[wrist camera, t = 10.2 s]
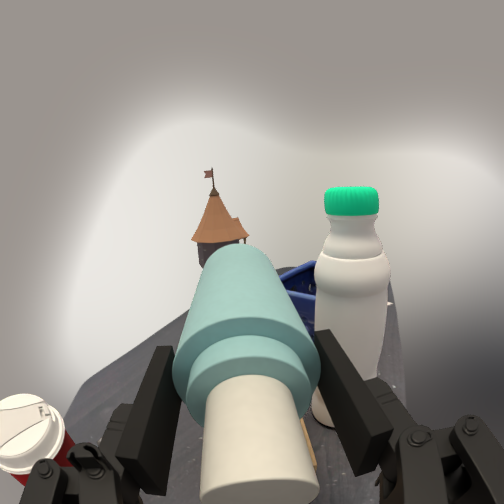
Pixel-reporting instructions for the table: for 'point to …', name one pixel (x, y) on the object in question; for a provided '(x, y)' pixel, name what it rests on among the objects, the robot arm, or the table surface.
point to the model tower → (216, 227)
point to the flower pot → (302, 293)
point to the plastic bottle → (248, 382)
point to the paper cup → (30, 435)
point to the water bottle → (352, 283)
